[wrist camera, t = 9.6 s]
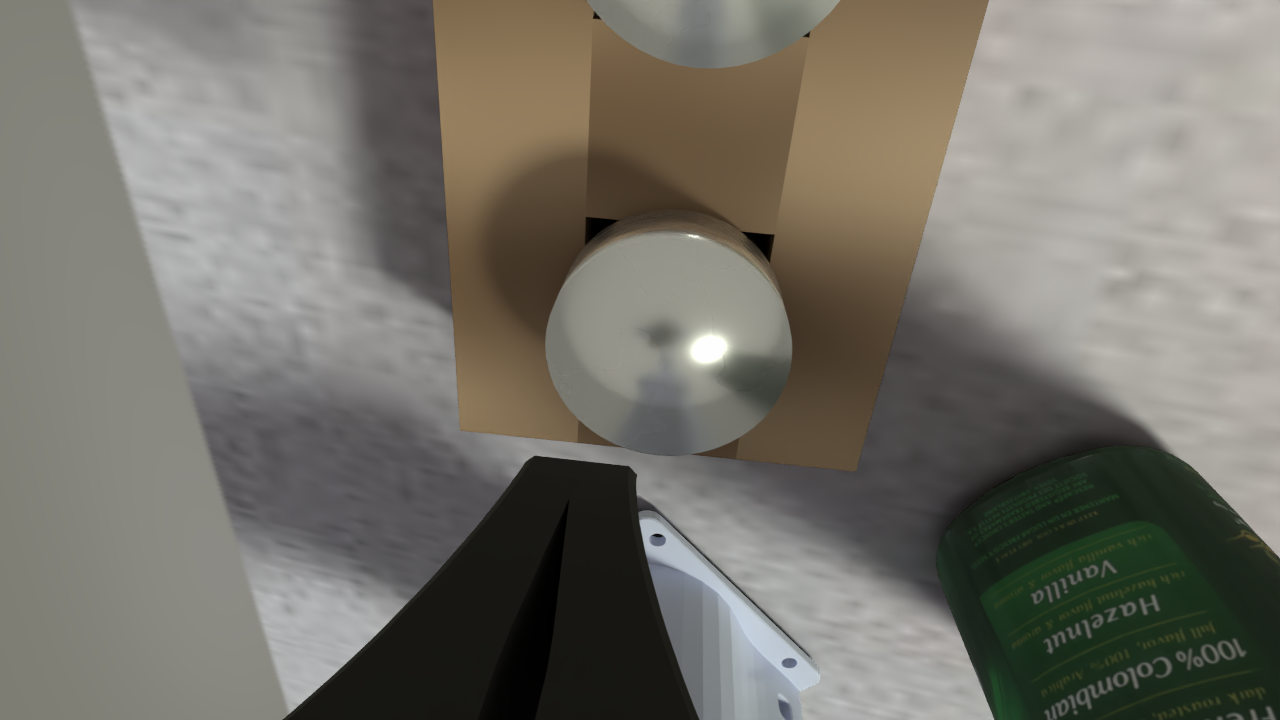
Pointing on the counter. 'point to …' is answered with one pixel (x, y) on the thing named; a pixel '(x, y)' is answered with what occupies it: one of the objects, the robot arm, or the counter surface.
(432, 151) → the counter surface
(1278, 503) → the counter surface
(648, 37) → the middle knob
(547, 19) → the block
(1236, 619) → the coffee jar
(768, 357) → the knob
